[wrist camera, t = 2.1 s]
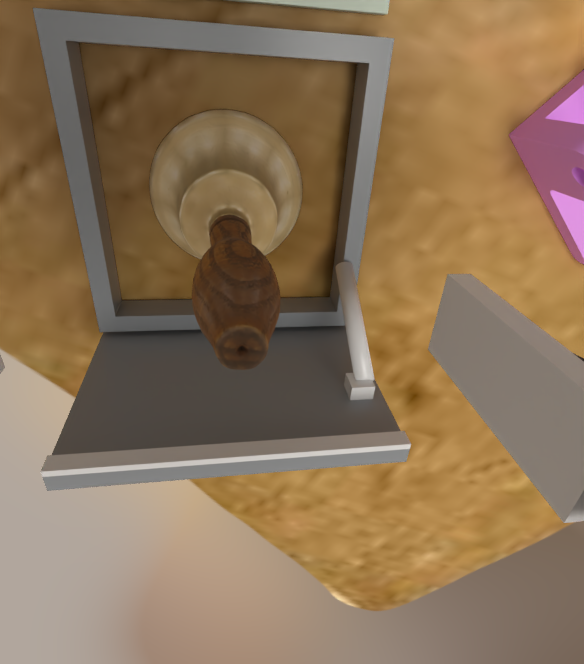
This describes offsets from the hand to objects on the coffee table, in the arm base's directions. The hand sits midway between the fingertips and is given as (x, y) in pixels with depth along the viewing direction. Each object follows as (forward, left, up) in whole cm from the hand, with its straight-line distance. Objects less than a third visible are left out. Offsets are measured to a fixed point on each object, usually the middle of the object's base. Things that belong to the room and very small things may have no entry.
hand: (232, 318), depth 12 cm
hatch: (0, 0, -13) cm, 13 cm away
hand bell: (0, 0, -14) cm, 14 cm away
